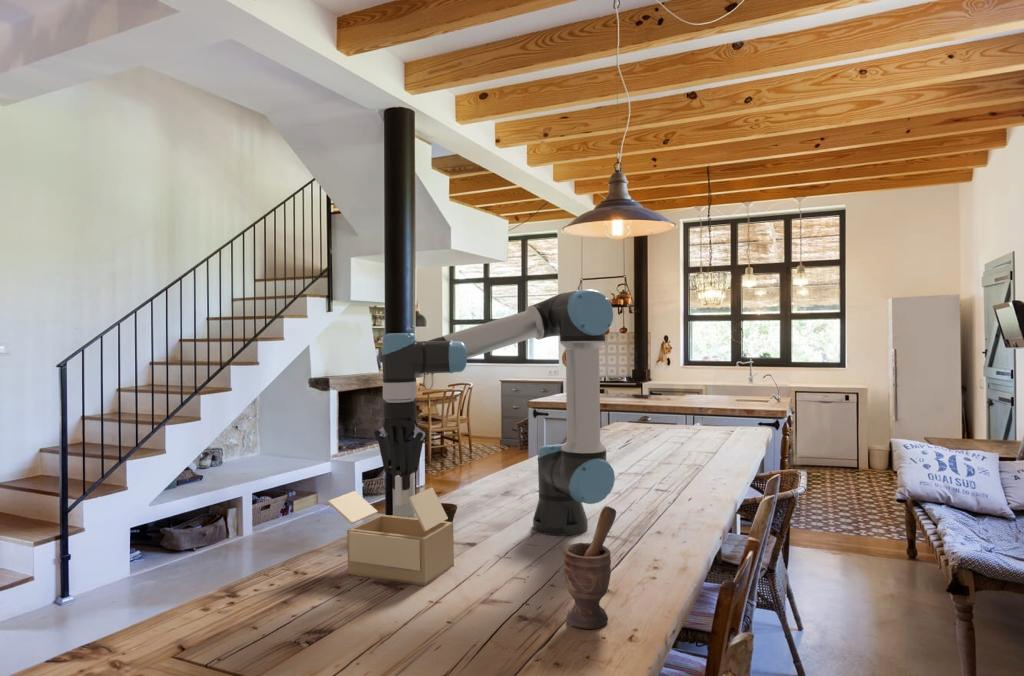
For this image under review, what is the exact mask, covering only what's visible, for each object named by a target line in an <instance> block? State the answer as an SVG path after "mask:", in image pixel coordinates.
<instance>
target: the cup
mask: <svg viewBox="0 0 1024 676" xmlns="http://www.w3.org/2000/svg"><path fill="white" fill-rule="evenodd" d="M440 503H441V505H442V507H443V509H444V511H445V513H446V515H447V517H448V519H446V520H445V522H453V523H454V518H455V515H456V513H457V510H458V505H456V504H454V503H449V502H447V503H446V502H440Z"/></svg>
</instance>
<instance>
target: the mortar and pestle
mask: <svg viewBox="0 0 1024 676" xmlns="http://www.w3.org/2000/svg"><path fill="white" fill-rule="evenodd" d="M616 517H617V511H616V509H615V508H613V507H611V506H607V505H605V506H604V507H603V508H602V510H601V511H600V514H599V517H598V521H597V525H596V529H595V531H594V532H595V533H594V536H593V538H592V541H591V542H578V543H571V544H568V545H566V546H564V548H563V563H564V564H563V568H564V569H563V574H564V580H565V584H566V585H567V591H568V593H569V595H571V597H572V599H573V600H574V604H573V606H572V607H571V608H569V609H568V611H567V616H566V621H567V622H568V624H569V625H568V626H570V627H575V628H580V629H585V630H587V629H589V630H594V629H601V628H603V627H604V626H605V625H606V624H607V623H608V621H609V616H608V614H607V612H606V610H605V609H604V608H603V607H602V606H601V605H600V602H601V600H602V598H603V597H605V595H607V592H608V588H609V585H610V581H611V574H612V573H611V572H612V571H611V565H612V564H611V563H612V559H611V558H612V557H611V550H610V549H609V548H608V547H606V546H605V545H604V543H605V541H606V539H607V537H608V534H609V533H610V531H611V529H612V527H613V524H614V523H615V520H616Z"/></svg>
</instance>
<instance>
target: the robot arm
mask: <svg viewBox="0 0 1024 676" xmlns="http://www.w3.org/2000/svg"><path fill="white" fill-rule="evenodd" d="M613 319H614V310H613V306H612V304H611V302H610V300H609V299H608V297H606V296H605V294H603V293H602V292H601V291H598V290H595V289H589V288H588V289H587V288H586V289H585V288H583V289H577V290H573V291H569V292H568V291H567V292H563V293H559V294H556V295H554V296H552V297H549V298H546V299H545V300H542V301H540V302H538V303H537V302H536V303H535V304H532V305H528V306H527V307H526V309H525V310H524V311H521V312H518V313H514V314H512V315H511V314H510V315H509V316H508V315H507V316H505V317H501V318H497V319H495V320H491V321H488V322H484V323H481V324H478V325H475V326H472V327H468V328H464V329H461V330H459V331H455V332H451V333H449V334H445V335H442V336H439V337H435V338H431V339H429V340H422V341H419V340H417V339H416V335H415V333H413V332H408V333H407V332H406V333H405V332H399V333H397V332H396V333H393V332H392V333H386V334H384V336H382V344H381V345H382V346H381V347H382V348H381V358H382V359H381V361H382V365H381V366H382V399H383V401H384V402H383V403H382V413H383V414H382V416H383V418H384V421H383V423H382V427H381V428H380V429H377V430H374V432H373V434H374V436H375V439H376V440H377V443H378V448H379V453H380V456H381V462H382V466H383V470H384V472H385V473H389V474H390V475H391V476H392V477H391V478H392V479H391V480H392V486H391V487H392V490H393V489H395V505H403V504H406V503H408V502H407V490H408V489H409V488H410V474H412V473H414V472H415V473H416V472H418V470H419V465H420V459H421V455H422V449H423V446H424V445H423V444H424V441H425V438H426V437H427V435H428V432H427V431H425V430H421V428H419V426H418V423H417V420H416V419H417V415H418V414H417V402H416V401H415V399H417V375H418V374H420V375H421V374H447V373H449V374H453V373H461V372H463V371H464V370H465V369H466V367H467V362H468V359H470V358H471V359H472V358H474V357H476V356H480V355H483V354H486V353H489V352H492V351H496V350H499V349H502V348H506V347H508V346H511V345H512V346H513V345H515V344H518V343H521V342H524V341H527V340H530V339H533V338H534V339H535V340H539V341H540V340H542V339H545V338H551V337H559V342H560V345H562V346H563V348H565V370H566V372H565V377H566V378H565V379H566V380H565V386H566V387H565V388H566V391H565V393H566V442H565V443H557V444H547V445H545V444H544V445H542V446H540V447H539V448H538V450H537V451H538V452H537V469H538V471H537V472H538V473H537V475H538V502H537V505H536V508H535V511H534V516H533V519H532V529H534V530H535V531H536V532H538V533H540V534H545V535H550V536H551V535H552V536H572V535H577V534H581V533H584V532H585V531H587V530H588V526H589V524H588V518H587V514H586V511H585V508H584V505H583V503H584V504H586V505H594V504H597V503H600V502H602V501H604V500H606V498H607V496H608V495H610V493H612V490H613V489H614V486H615V479H616V476H615V471H614V469H613V466H611V464H610V462H608V461H607V448H606V446H605V445H603V443H602V442H601V409H600V408H601V396H600V395H601V391H600V390H601V386H600V383H601V377H600V375H601V374H600V349H601V347H602V346H603V345H605V343H606V332H607V331H608V330H609V328H610V327H611V326H612V324H613ZM412 437H413V438H414V439H413V441H412ZM411 445H412V447H411ZM400 473H401V474H400Z"/></svg>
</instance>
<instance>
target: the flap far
mask: <svg viewBox="0 0 1024 676" xmlns="http://www.w3.org/2000/svg"><path fill="white" fill-rule="evenodd" d="M327 503H328V504H329V505H330V507H332V508H333V509H334V511H335V510H336V512H337V513H338V514H339V515H341V516H342V517H343V518H344V519H345V520H346V521H347V522H348V523H350V524H351V525H353V524H355V523H357V522H359V521H363V520H365V519H366V518H369V517H371V516H373V515H376V514H378V512H379V511H378V510H377V509H376V508H375V507H374V506H373V505H371V503H370V502H368V501H367V500H366V499H365V498H364V497H362V496H361V494H359V493H358V492H357V491H356V490H353V491H350V492H348V493H345V494H343V495H340V496H337V497H334V498H332V499H329V500H328V501H327Z"/></svg>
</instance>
